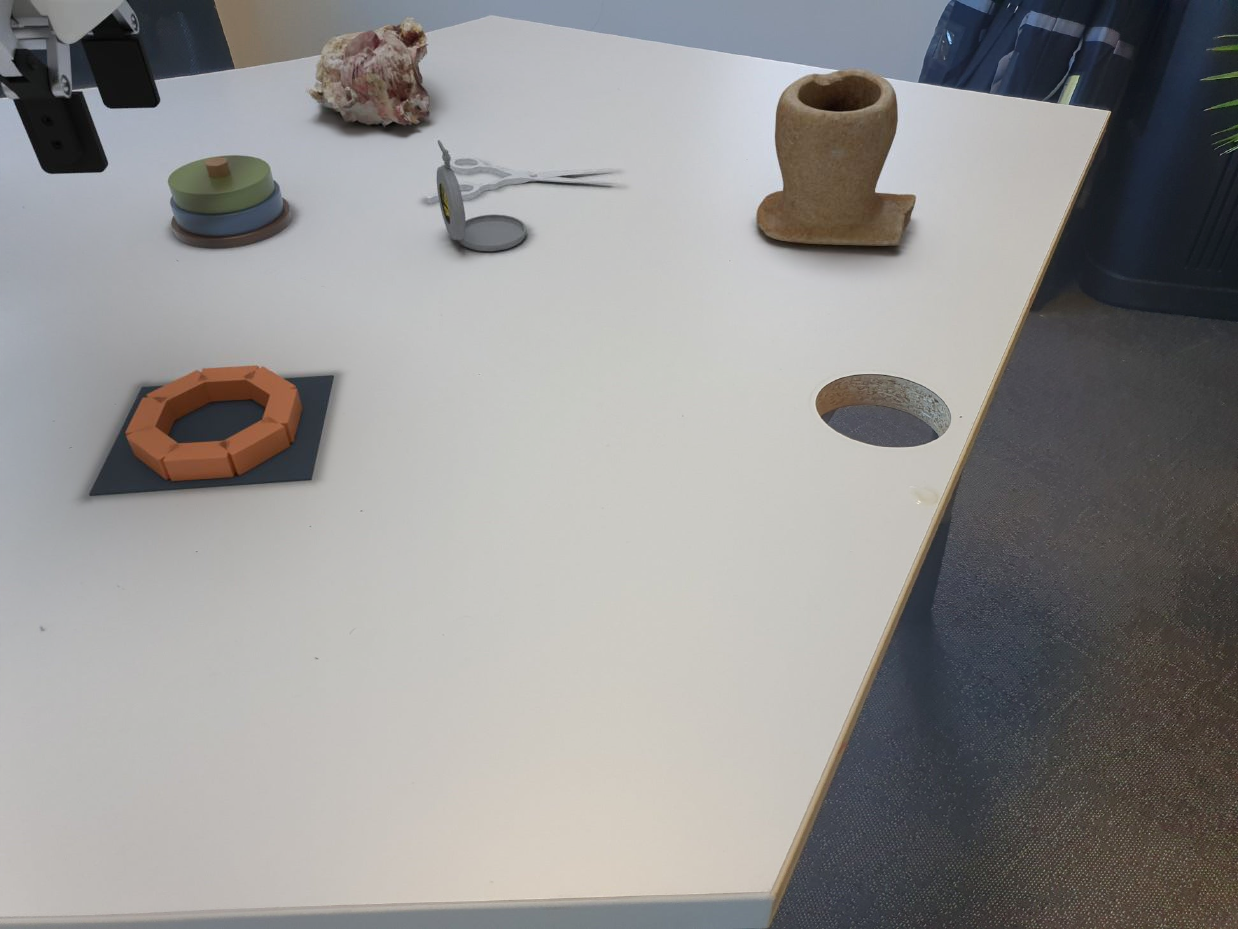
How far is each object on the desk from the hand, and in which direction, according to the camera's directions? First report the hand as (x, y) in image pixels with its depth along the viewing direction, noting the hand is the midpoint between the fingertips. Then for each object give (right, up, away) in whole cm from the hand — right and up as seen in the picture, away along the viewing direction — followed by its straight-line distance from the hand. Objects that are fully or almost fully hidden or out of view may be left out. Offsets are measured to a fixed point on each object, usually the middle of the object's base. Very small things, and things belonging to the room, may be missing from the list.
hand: (107, 136), depth 51 cm
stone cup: (+50, +3, +36) cm, 62 cm away
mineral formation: (-2, +26, +63) cm, 68 cm away
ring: (+1, -16, +12) cm, 20 cm away
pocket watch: (+16, +3, +35) cm, 39 cm away
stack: (-9, +5, +37) cm, 39 cm away
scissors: (+19, +11, +45) cm, 51 cm away
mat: (+1, -17, +12) cm, 21 cm away
